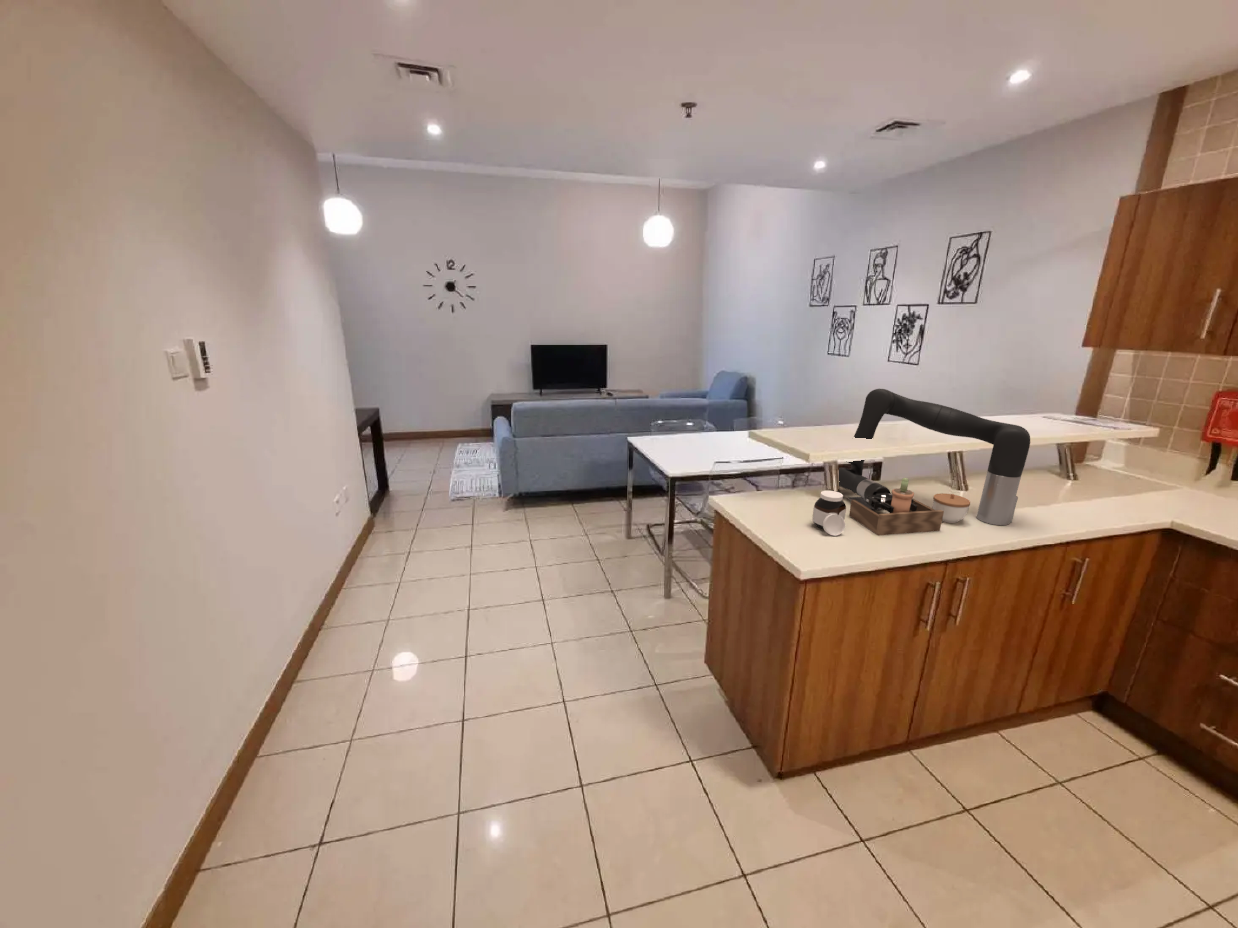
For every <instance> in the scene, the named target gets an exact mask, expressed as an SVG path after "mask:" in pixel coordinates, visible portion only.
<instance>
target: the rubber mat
mask: <svg viewBox="0 0 1238 928" xmlns="http://www.w3.org/2000/svg"><path fill="white" fill-rule="evenodd" d="M847 499H848V500H849V501H851V500H856V501H857V502H859V503H861V504H862V505H864V506H866V507H867V508H869V509H871V510H872V511H874V512H875V511H885V510H884V509H880V508H878V509H875V508H873V507H871V506H870V505H868V504H867V503H866V500H864V499H863V498H861V497H860V496H851V497H850V496H849V497H847Z"/></svg>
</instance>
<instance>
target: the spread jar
mask: <svg viewBox="0 0 1238 928" xmlns="http://www.w3.org/2000/svg"><path fill="white" fill-rule="evenodd" d="M843 497H844V494H842V493H841V492H839V491H835V490H821V492H820V496H819V498H818V499H817V500H816V501H815V503H814V506H813V508H812V509H813V511H812V516H811V517H812V519H811V520H812V522H813V523H814V525H815V526H816V527H817V528H819V529H822V530H824V532H825V533H826V534H828V535H830V536H833V537H835V536H836V537H837V536H840V535H841V534H842V533H843V532H844V531H845V529H846V521H845V519H846V513H847V506H846V503H845V502H844V501H843Z"/></svg>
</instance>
